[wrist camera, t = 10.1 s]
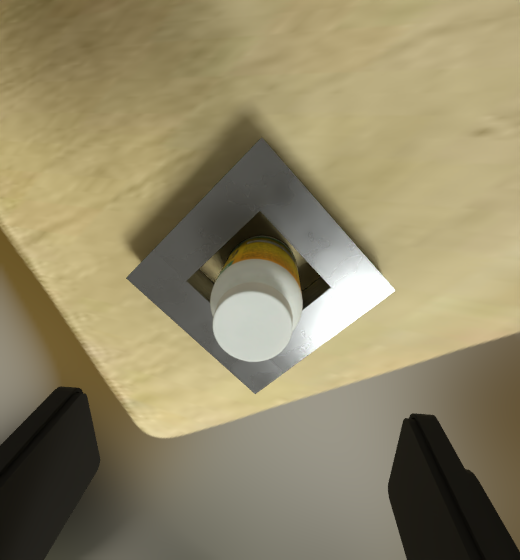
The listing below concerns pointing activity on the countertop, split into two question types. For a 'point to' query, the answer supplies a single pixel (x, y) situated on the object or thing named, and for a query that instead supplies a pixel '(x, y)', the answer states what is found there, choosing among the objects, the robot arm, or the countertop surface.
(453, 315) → the countertop surface
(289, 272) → the supplement bottle
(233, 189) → the square hole block
